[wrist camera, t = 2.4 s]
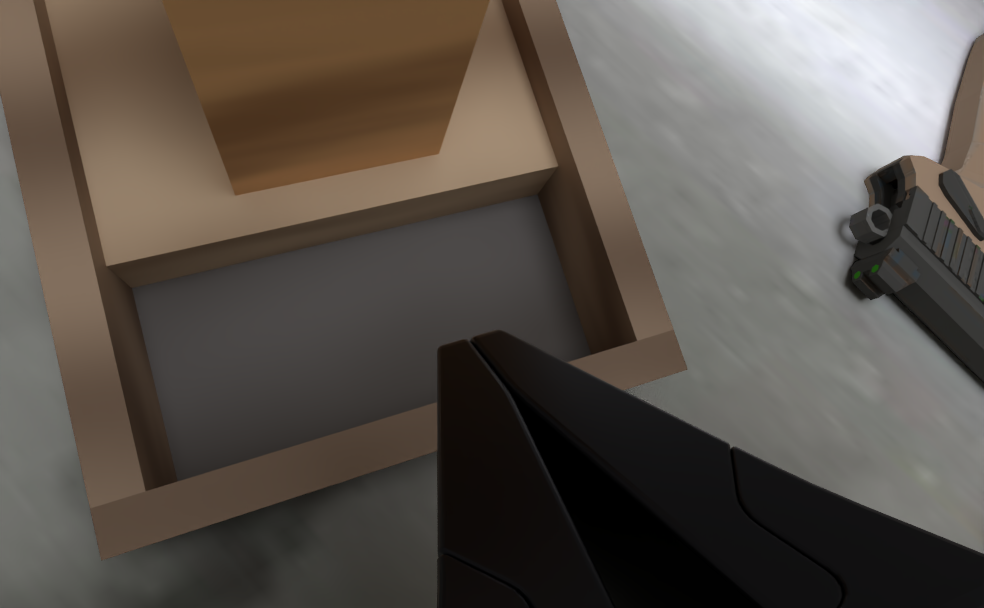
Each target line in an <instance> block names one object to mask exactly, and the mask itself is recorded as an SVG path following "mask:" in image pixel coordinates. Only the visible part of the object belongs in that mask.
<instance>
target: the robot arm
mask: <svg viewBox="0 0 984 608" xmlns="http://www.w3.org/2000/svg"><path fill="white" fill-rule="evenodd" d="M437 495H438V560H437V608H984V554H983V553H980V552H978V551H975V550H973V549H970V548H968V547H965V546H963V545H960V544H958V543H955V542H953V541H950V540H948V539H945V538H943V537H940V536H938V535H935V534H933V533H931V532H928V531H926V530H923V529H921V528H918V527H916V526H913V525H911V524H908V523H906V522H903V521H901V520H898V519H896V518H893V517H891V516H888V515H886V514H883V513H881V512H879V511H876V510H874V509H871V508H869V507H866V506H864V505H861V504H859V503H857V502H854V501H852V500H850V499H847V498H845V497H843V496H840V495H838V494H836V493H833V492H831V491H828V490H826V489H824V488H821V487H819V486H817V485H814V484H812V483H810V482H808V481H806V480H804V479H801V478H799V477H797V476H795V475H793V474H791V473H789V472H787V471H785V470H782V469H780V468H778V467H776V466H774V465H772V464H770V463H768V462H766V461H763V460H761V459H759V458H757V457H755V456H754V455H752V454H750V453H748V452H746V451H744V450H742V449H740V448H738V447H732V448H731V450H730V445H729V444H728V443H727V442H725V441H723V440H721V439H719V438H717V437H715V436H713V435H711V434H709V433H707V432H705V431H703V430H701V429H699V428H697V427H695V426H693V425H691V424H689V423H687V422H685V421H683V420H681V419H679V418H677V417H675V416H673V415H671V414H669V413H667V412H665V411H663V410H661V409H659V408H657V407H655V406H653V405H651V404H649V403H647V402H645V401H643V400H641V399H639V398H637V397H635V396H633V395H631V394H629V393H627V392H625V391H623V390H621V389H619V388H617V387H615V386H613V385H611V384H609V383H607V382H605V381H603V380H601V379H599V378H597V377H595V376H593V375H591V374H589V373H587V372H585V371H583V370H581V369H579V368H577V367H575V366H573V365H571V364H569V363H567V362H565V361H563V360H561V359H559V358H557V357H555V356H553V355H551V354H549V353H547V352H545V351H543V350H541V349H539V348H537V347H535V346H533V345H531V344H529V343H527V342H525V341H523V340H521V339H519V338H517V337H515V336H513V335H511V334H509V333H507V332H505V331H503V330H494V331H490V332H487V333H483V334H480V335H476V336H473V337H472V338H471V340H470V341H469V340H467V339H462V340H458V341H455V342H451V343H448V344H444V345H441V346H440V347H439V348H438V349H437Z"/></svg>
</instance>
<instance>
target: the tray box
mask: <svg viewBox="0 0 984 608" xmlns="http://www.w3.org/2000/svg"><path fill="white" fill-rule="evenodd" d="M0 94H1V99H2V103H3V108H4V112H5V117H6V122H7V126H8V131H9V136H10V140H11V145H12V150H13V154H14V159H15V163H16V168H17V173H18V177H19V182H20V187H21V191H22V196H23V200H24V205H25V210H26V214H27V219H28V224H29V228H30V233H31V237H32V242H33V247H34V251H35V256H36V261H37V265H38V270H39V274H40V279H41V284H42V288H43V293H44V298H45V302H46V307H47V312H48V316H49V321H50V325H51V330H52V335H53V339H54V344H55V349H56V353H57V358H58V362H59V367H60V372H61V376H62V381H63V386H64V390H65V395H66V399H67V404H68V409H69V413H70V418H71V423H72V427H73V432H74V436H75V441H76V446H77V450H78V455H79V460H80V464H81V469H82V474H83V478H84V483H85V487H86V492H87V497H88V501H89V506H90V511H91V515H92V520H93V524H94V529H95V534H96V538H97V543H98V548H99V552H100V557H101V560H104V559H108V558H111V557H114V556H117V555H120V554H123V553H126V552H129V551H132V550H135V549H138V548H141V547H144V546H147V545H150V544H154V543H157V542H160V541H163V540H166V539H169V538H172V537H175V536H178V535H181V534H184V533H187V532H190V531H193V530H196V529H200V528H203V527H206V526H209V525H212V524H215V523H218V522H221V521H224V520H227V519H230V518H233V517H236V516H239V515H242V514H246V513H249V512H252V511H255V510H258V509H261V508H264V507H267V506H270V505H273V504H276V503H279V502H282V501H285V500H288V499H292V498H295V497H298V496H301V495H304V494H307V493H310V492H313V491H316V490H319V489H322V488H325V487H328V486H331V485H334V484H338V483H341V482H344V481H347V480H350V479H353V478H356V477H359V476H362V475H365V474H368V473H371V472H374V471H377V470H380V469H383V468H387V467H390V466H393V465H396V464H399V463H402V462H405V461H408V460H411V459H414V458H417V457H420V456H423V455H426V454H429V453H433V452H436V451H437V349H438V348H439V347H440V346H441V345H444V344H448V343H451V342H455V341H458V340H462V339H467V340H469V341H470V340H471V338H472V337H473V336H476V335H480V334H483V333H487V332H490V331H494V330H503V331H505V332H507V333H509V334H511V335H513V336H515V337H517V338H519V339H521V340H523V341H525V342H527V343H529V344H531V345H533V346H535V347H537V348H539V349H541V350H543V351H545V352H547V353H549V354H551V355H553V356H555V357H557V358H559V359H561V360H563V361H565V362H567V363H569V364H571V365H573V366H575V367H577V368H579V369H581V370H583V371H585V372H587V373H589V374H591V375H593V376H595V377H597V378H599V379H601V380H603V381H605V382H607V383H609V384H611V385H613V386H615V387H617V388H619V389H621V390H626V389H629V388H632V387H635V386H638V385H641V384H644V383H647V382H650V381H653V380H656V379H659V378H663V377H666V376H669V375H672V374H675V373H678V372H681V371H684V370H687V366H686V363H685V361H684V358H683V355H682V352H681V349H680V347H679V344H678V341H677V338H676V335H675V333H674V330H673V327H672V324H671V321H670V319H669V316H668V313H667V310H666V307H665V305H664V302H663V299H662V296H661V293H660V291H659V288H658V285H657V282H656V279H655V277H654V274H653V271H652V268H651V265H650V263H649V260H648V257H647V254H646V251H645V249H644V246H643V243H642V240H641V237H640V235H639V232H638V229H637V226H636V223H635V221H634V218H633V215H632V212H631V209H630V207H629V204H628V201H627V198H626V195H625V193H624V190H623V187H622V184H621V181H620V179H619V176H618V173H617V170H616V167H615V165H614V162H613V159H612V156H611V153H610V151H609V148H608V145H607V142H606V139H605V137H604V134H603V131H602V128H601V125H600V123H599V120H598V117H597V114H596V111H595V109H594V106H593V103H592V100H591V97H590V95H589V92H588V89H587V86H586V83H585V81H584V78H583V75H582V72H581V69H580V67H579V64H578V61H577V58H576V55H575V53H574V50H573V47H572V44H571V41H570V39H569V36H568V33H567V30H566V27H565V25H564V22H563V19H562V16H561V13H560V11H559V8H558V5H557V2H556V0H490V1H489V4H488V7H487V10H486V13H485V16H484V19H483V22H482V26H481V29H480V32H479V35H478V38H477V41H476V44H475V47H474V50H473V53H472V56H471V59H470V62H469V65H468V68H467V71H466V74H465V77H464V80H463V83H462V86H461V89H460V92H459V95H458V98H457V101H456V104H455V107H454V110H453V113H452V116H451V119H450V122H449V125H448V128H447V131H446V134H445V137H444V140H443V143H442V146H441V149H440V152H439V154H436V155H431V156H426V157H421V158H416V159H412V160H407V161H402V162H397V163H392V164H387V165H382V166H378V167H373V168H368V169H363V170H358V171H353V172H348V173H343V174H339V175H334V176H329V177H324V178H319V179H314V180H309V181H305V182H300V183H295V184H290V185H285V186H280V187H275V188H271V189H266V190H261V191H256V192H251V193H246V194H241V195H235V193H234V190H233V188H232V185H231V182H230V180H229V177H228V174H227V172H226V169H225V166H224V164H223V161H222V158H221V156H220V153H219V150H218V148H217V145H216V143H215V140H214V137H213V135H212V132H211V129H210V127H209V124H208V121H207V119H206V116H205V113H204V111H203V108H202V105H201V103H200V100H199V98H198V95H197V92H196V90H195V87H194V84H193V82H192V79H191V76H190V74H189V71H188V68H187V66H186V63H185V61H184V58H183V55H182V53H181V50H180V47H179V45H178V42H177V39H176V37H175V34H174V31H173V29H172V26H171V23H170V21H169V18H168V16H167V13H166V10H165V8H164V5H163V2H162V0H0Z"/></svg>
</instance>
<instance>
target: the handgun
mask: <svg viewBox="0 0 984 608" xmlns="http://www.w3.org/2000/svg"><path fill="white" fill-rule="evenodd" d="M864 182H865V185H866V187H867V190H868V193H869V208H866V209H864V210H862V211H860V212H858V213H856V214H854V215H852V216H851V220H850V225H849V227H850V229H851V231H852V233H853V235H854V237H855V239H857V240H859V241H858V244H857V248H856V251H855V254H854V255H855V256H856V257H857V258H858V259H859V261H857V262H855V263H854V264H853V266H852V267H851V270H852V271H853V272H852V282H853V283H854V284H855V285H856V286H857V287H858V288H859V289H860V290H861V291H862V292H863V293H864V294H865V295H866V296H867V297H868V298H869V299H870V300H872V299H875V298H878V297H880V296H882V295H883V294H885V293H886V294H887V295H888V294H891V293H893V294H894V295H895V296H896V297H897V298H898V299H900V300H901V301H902V302H903V303H904V304H905V305H906V306H907V307H908V308H909V309H910V310H911V311H912V312H913V313H914V314H915V315H916V316H917V317H918V318H919V319H920V320H921V321H922V322H923V323H924V324H925V325H926V326H927V327H928V328H929V329H930V330H931V331H932V332H933V333H934V334H935V335H936V336H937V337H938V338H939V339H940V340H941V341H942V342H943V343H944V344H945V345H946V346H947V347H948V348H949V349H950V350H951V351H952V352H953V353H954V354H955V355H956V356H957V357H958V358H959V359H960V360H961V361H962V362H964V363H965V364H966V365H967V366H968V367H969V368H970V369H971V370H972V371H973V372H974V373H975V374H976V375H977V376H978V377H979V378H980V379H981V380H982V381H983V382H984V34H983V35H981V36H979V37H978V38H976V40H975V43H974V45H973V48H972V50H971V52H970V55H969V58H968V61H967V64H966V68H965V71H964V75H963V78H962V81H961V85H960V88H959V92H958V95H957V99H956V102H955V106H954V111H953V116H952V121H951V126H950V131H949V136H948V141H947V146H946V151H945V156H944V159H943V161H942V164H941V165H940V164H938V163H936V162H934V161H932V160H930V159H928V158H926V157H924V156H913V155H910V156H903V157H901V158H899V159H897V160H895V161H893V162H891V163H889V164H888V165H886V166H884V167H882V168H880V169H878V170H877V171H876V172H874V173H873V174H871V175H870V176H869V177H867V179H866V180H865V181H864ZM891 183H892V184H894V185H896V186H898V188H897V189H894V188H893V186H892V185H891Z"/></svg>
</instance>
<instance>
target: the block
mask: <svg viewBox="0 0 984 608" xmlns="http://www.w3.org/2000/svg"><path fill="white" fill-rule="evenodd" d="M489 1H490V0H162V2H163V5H164V8H165V10H166V13H167V16H168V18H169V21H170V23H171V26H172V29H173V31H174V34H175V37H176V39H177V42H178V45H179V47H180V50H181V53H182V55H183V58H184V61H185V63H186V66H187V68H188V71H189V74H190V76H191V79H192V82H193V84H194V87H195V90H196V92H197V95H198V98H199V100H200V103H201V105H202V108H203V111H204V113H205V116H206V119H207V121H208V124H209V127H210V129H211V132H212V135H213V137H214V140H215V143H216V145H217V148H218V150H219V153H220V156H221V158H222V161H223V164H224V166H225V169H226V172H227V174H228V177H229V180H230V182H231V185H232V188H233V190H234V193H235V195H241V194H246V193H251V192H256V191H261V190H266V189H271V188H275V187H280V186H285V185H290V184H295V183H300V182H305V181H309V180H314V179H319V178H324V177H329V176H334V175H339V174H343V173H348V172H353V171H358V170H363V169H368V168H373V167H378V166H382V165H387V164H392V163H397V162H402V161H407V160H412V159H416V158H421V157H426V156H431V155H436V154H439V152H440V149H441V146H442V143H443V140H444V137H445V134H446V131H447V128H448V125H449V122H450V119H451V116H452V113H453V110H454V107H455V104H456V101H457V98H458V95H459V92H460V89H461V86H462V83H463V80H464V77H465V74H466V71H467V68H468V65H469V62H470V59H471V56H472V53H473V50H474V47H475V44H476V41H477V38H478V35H479V32H480V29H481V26H482V22H483V19H484V16H485V13H486V10H487V7H488V4H489Z"/></svg>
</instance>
